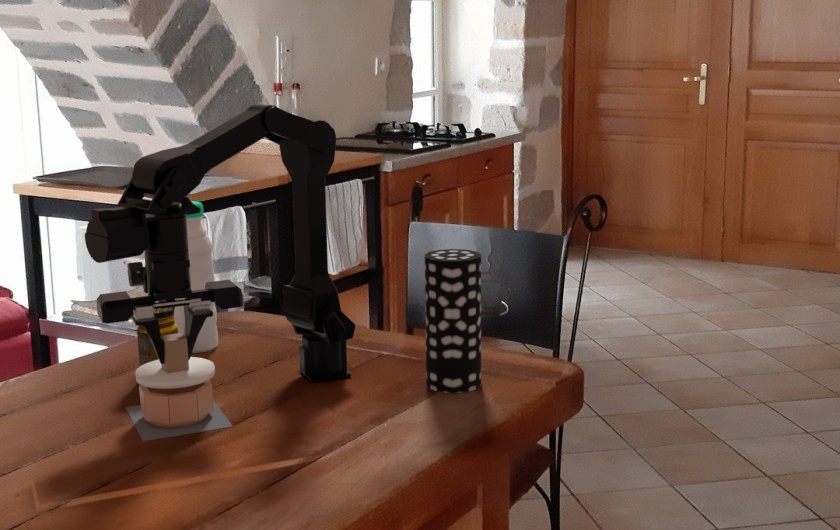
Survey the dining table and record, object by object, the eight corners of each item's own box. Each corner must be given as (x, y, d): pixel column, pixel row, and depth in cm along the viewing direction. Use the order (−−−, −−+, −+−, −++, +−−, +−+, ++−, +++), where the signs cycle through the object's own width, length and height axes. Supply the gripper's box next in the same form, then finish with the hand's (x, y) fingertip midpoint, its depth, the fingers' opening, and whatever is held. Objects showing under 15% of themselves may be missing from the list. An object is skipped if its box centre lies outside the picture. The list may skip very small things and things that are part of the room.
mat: (209, 398, 157) (209, 394, 157) (233, 430, 145) (232, 426, 145) (125, 411, 153) (125, 407, 153) (142, 445, 140) (142, 441, 140)
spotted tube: (452, 397, 157) (451, 263, 152) (414, 383, 163) (412, 254, 158) (492, 384, 162) (492, 254, 157) (454, 371, 168) (454, 246, 164)
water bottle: (168, 348, 182) (158, 202, 177) (204, 339, 187) (195, 197, 182) (190, 356, 177) (180, 207, 172) (226, 347, 182) (218, 202, 176)
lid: (202, 359, 154) (199, 322, 153) (225, 380, 145) (222, 341, 144) (127, 371, 150) (124, 333, 148) (146, 393, 140) (143, 353, 139)
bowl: (203, 401, 155) (201, 370, 154) (218, 422, 146) (216, 390, 145) (138, 411, 151) (135, 379, 150) (149, 433, 143) (147, 400, 142)
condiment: (190, 385, 163) (185, 309, 161) (136, 397, 159) (130, 318, 156) (173, 373, 169) (168, 299, 167) (120, 383, 165) (114, 308, 162)
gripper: (221, 233, 154) (227, 337, 158) (86, 246, 147) (96, 354, 151) (240, 247, 144) (247, 358, 148) (97, 261, 137) (107, 378, 141)
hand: (174, 361), depth 147 cm, fingers closed on lid, 3 cm apart
